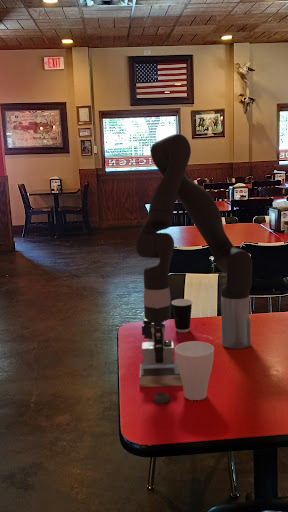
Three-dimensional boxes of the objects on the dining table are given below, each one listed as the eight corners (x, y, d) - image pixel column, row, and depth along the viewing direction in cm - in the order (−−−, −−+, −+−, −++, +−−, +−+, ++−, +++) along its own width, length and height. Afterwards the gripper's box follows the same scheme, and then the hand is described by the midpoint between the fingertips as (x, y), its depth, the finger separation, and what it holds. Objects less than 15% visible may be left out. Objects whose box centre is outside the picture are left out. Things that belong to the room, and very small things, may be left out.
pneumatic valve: (165, 341, 171) (164, 308, 169) (156, 354, 160) (155, 319, 158) (150, 340, 173) (149, 308, 171) (140, 353, 162) (139, 318, 160)
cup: (175, 387, 137) (173, 341, 134) (212, 386, 136) (212, 340, 134) (176, 405, 126) (175, 356, 124) (217, 404, 126) (216, 355, 123)
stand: (180, 372, 146) (180, 361, 146) (182, 385, 137) (181, 374, 137) (140, 373, 147) (140, 362, 146) (139, 387, 138) (139, 375, 137)
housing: (142, 365, 139) (141, 345, 138) (143, 358, 144) (142, 339, 142) (174, 364, 139) (173, 344, 137) (173, 357, 143) (172, 337, 142)
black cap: (171, 399, 130) (171, 394, 130) (165, 406, 127) (165, 401, 126) (157, 396, 132) (157, 391, 132) (151, 403, 128) (151, 398, 128)
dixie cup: (167, 331, 181) (166, 302, 179) (180, 325, 187) (179, 297, 185) (185, 335, 177) (184, 306, 174) (197, 328, 183) (196, 300, 180)
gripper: (144, 295, 145) (146, 349, 148) (143, 310, 131) (146, 369, 134) (169, 295, 145) (171, 348, 148) (171, 309, 131) (173, 368, 134)
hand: (159, 358), depth 141 cm, fingers closed on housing, 5 cm apart
